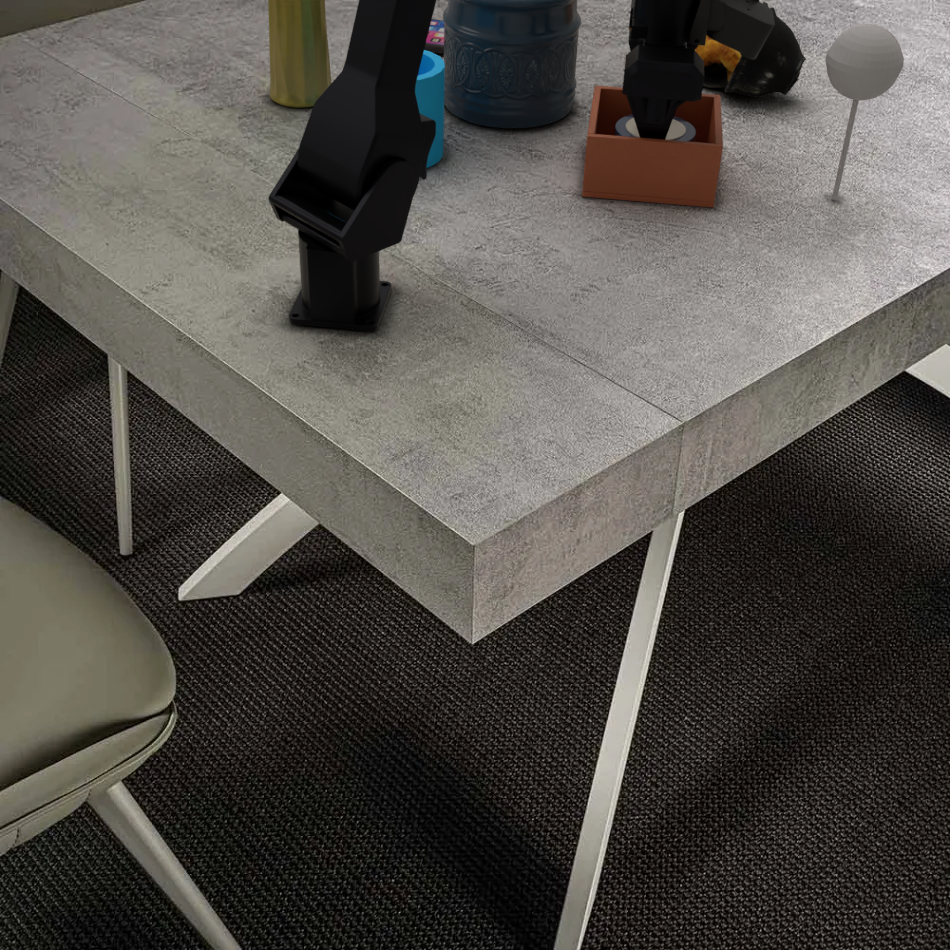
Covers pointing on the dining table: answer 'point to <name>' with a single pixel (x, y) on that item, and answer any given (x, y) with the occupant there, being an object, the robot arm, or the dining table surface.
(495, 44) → the canister
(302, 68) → the vase
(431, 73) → the mug
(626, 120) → the navy jar lid
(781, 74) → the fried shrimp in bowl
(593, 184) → the tub
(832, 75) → the lollipop
